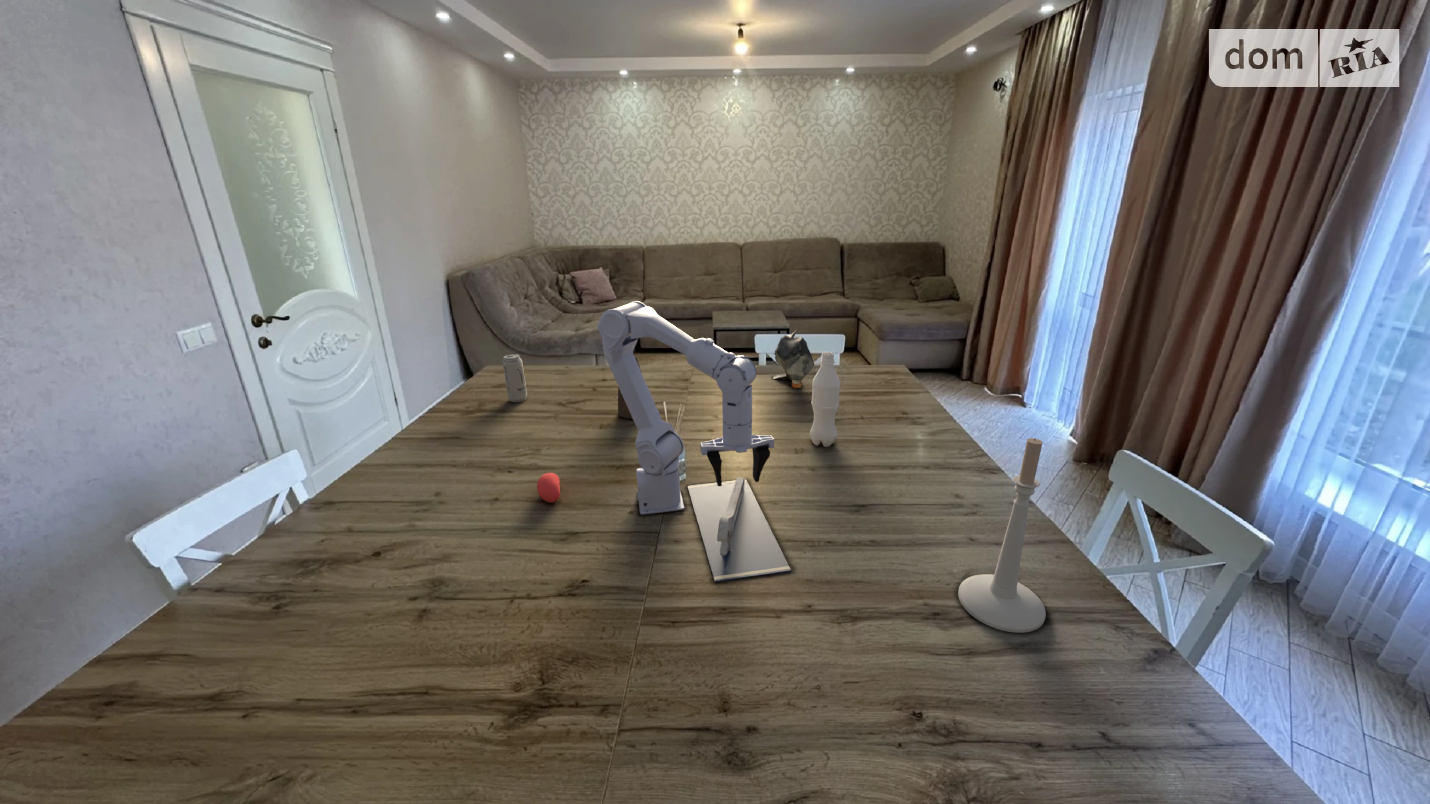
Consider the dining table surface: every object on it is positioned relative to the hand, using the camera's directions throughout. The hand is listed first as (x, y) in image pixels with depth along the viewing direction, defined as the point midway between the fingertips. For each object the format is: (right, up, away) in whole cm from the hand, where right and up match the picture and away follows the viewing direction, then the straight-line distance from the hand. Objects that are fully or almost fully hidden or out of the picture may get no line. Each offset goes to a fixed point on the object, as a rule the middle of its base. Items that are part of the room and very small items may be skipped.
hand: (737, 481), depth 111 cm
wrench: (-1, -9, +2) cm, 9 cm away
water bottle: (+25, +5, +37) cm, 45 cm away
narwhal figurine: (+23, +22, +81) cm, 87 cm away
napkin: (-1, -9, +2) cm, 9 cm away
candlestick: (+42, -17, -21) cm, 50 cm away
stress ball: (-42, -5, +14) cm, 45 cm away
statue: (-29, +12, +57) cm, 65 cm away
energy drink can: (-70, +17, +72) cm, 102 cm away
